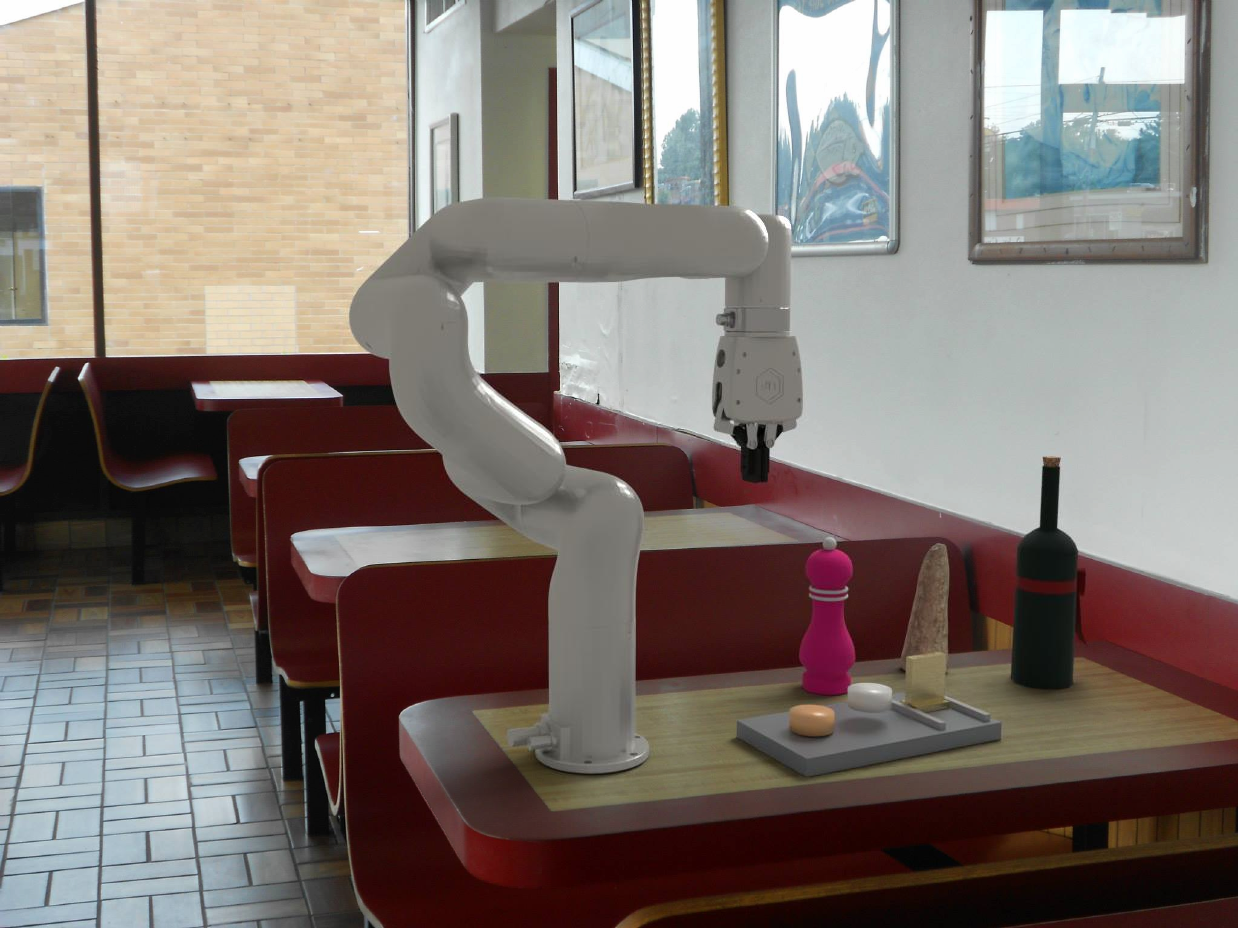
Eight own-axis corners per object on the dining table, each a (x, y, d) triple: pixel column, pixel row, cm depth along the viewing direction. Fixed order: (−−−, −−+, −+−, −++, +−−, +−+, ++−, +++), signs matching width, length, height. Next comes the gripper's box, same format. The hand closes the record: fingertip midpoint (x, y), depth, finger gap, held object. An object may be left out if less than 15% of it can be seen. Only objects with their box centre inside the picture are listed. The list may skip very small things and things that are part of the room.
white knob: (865, 715, 142) (865, 697, 142) (838, 702, 146) (838, 686, 146) (900, 709, 144) (901, 692, 144) (873, 697, 148) (873, 680, 148)
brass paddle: (916, 713, 148) (917, 661, 147) (899, 706, 151) (901, 654, 150) (949, 707, 150) (951, 656, 149) (932, 700, 153) (934, 649, 152)
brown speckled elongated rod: (948, 682, 170) (942, 671, 176) (973, 552, 168) (966, 545, 174) (901, 674, 170) (896, 662, 176) (926, 544, 169) (920, 537, 175)
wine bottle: (1100, 685, 166) (1112, 459, 162) (1031, 691, 164) (1042, 461, 160) (1065, 669, 174) (1075, 452, 170) (999, 674, 171) (1008, 454, 168)
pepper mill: (852, 680, 168) (855, 532, 166) (856, 697, 161) (860, 543, 158) (797, 679, 169) (800, 531, 166) (799, 695, 162) (802, 541, 159)
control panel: (806, 776, 133) (807, 751, 133) (736, 736, 146) (736, 713, 146) (1001, 738, 145) (1001, 715, 145) (921, 704, 158) (921, 683, 157)
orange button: (805, 738, 138) (806, 721, 138) (780, 725, 143) (780, 708, 143) (843, 731, 141) (843, 714, 140) (816, 719, 145) (817, 702, 145)
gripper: (718, 324, 139) (716, 489, 141) (829, 324, 146) (826, 481, 148) (684, 323, 146) (683, 481, 148) (792, 323, 152) (789, 474, 155)
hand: (754, 481), depth 148 cm, fingers closed
